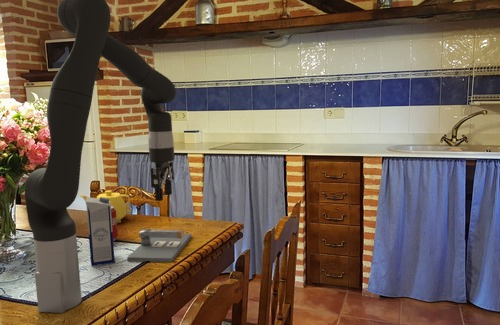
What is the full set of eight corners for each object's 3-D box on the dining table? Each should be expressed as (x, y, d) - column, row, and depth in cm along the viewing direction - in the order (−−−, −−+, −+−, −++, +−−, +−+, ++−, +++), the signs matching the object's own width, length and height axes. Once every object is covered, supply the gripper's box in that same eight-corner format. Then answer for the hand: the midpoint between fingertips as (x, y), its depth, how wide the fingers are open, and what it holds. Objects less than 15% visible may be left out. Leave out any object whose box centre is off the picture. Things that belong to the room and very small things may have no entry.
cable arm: (181, 239, 136) (180, 232, 136) (137, 238, 138) (137, 232, 138) (184, 235, 140) (184, 228, 140) (142, 234, 142) (141, 228, 142)
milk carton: (91, 258, 132) (86, 196, 129) (113, 255, 134) (109, 194, 131) (91, 266, 125) (86, 201, 122) (114, 262, 128) (110, 198, 125)
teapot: (132, 223, 170) (130, 192, 169) (79, 228, 165) (77, 196, 163) (131, 214, 183) (130, 186, 182) (83, 219, 178) (80, 189, 176)
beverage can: (112, 243, 146) (109, 210, 144) (95, 242, 147) (93, 209, 145) (121, 237, 152) (119, 205, 150) (105, 237, 153) (103, 205, 151)
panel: (171, 262, 127) (171, 250, 127) (127, 261, 129) (126, 249, 128) (191, 236, 151) (191, 226, 150) (154, 236, 152) (153, 226, 152)
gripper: (165, 148, 121) (168, 203, 123) (179, 143, 135) (182, 192, 137) (140, 148, 122) (144, 202, 124) (157, 143, 136) (160, 192, 138)
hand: (164, 197), depth 131 cm, fingers open, 8 cm apart
